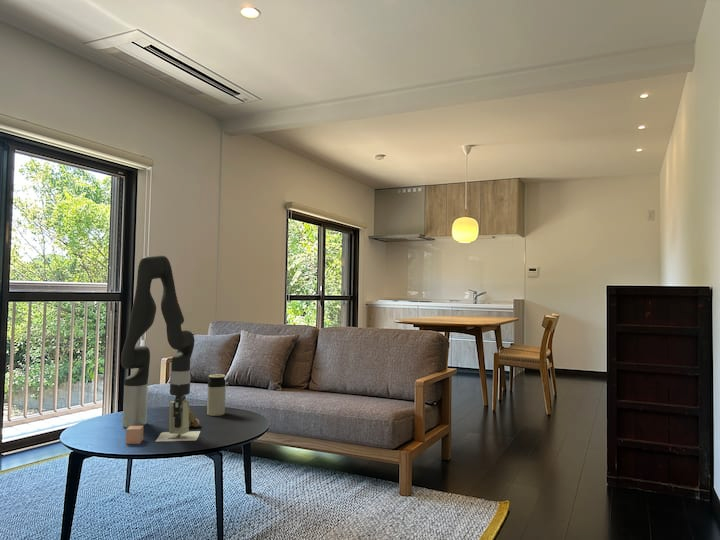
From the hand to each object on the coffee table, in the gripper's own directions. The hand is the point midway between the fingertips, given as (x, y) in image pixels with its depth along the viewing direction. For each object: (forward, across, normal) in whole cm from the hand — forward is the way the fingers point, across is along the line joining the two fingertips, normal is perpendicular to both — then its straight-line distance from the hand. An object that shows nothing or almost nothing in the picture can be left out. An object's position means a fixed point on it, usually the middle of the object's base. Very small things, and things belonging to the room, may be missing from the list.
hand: (178, 425), depth 207 cm
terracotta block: (+5, +6, -15) cm, 17 cm away
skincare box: (+3, 0, 0) cm, 3 cm away
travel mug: (+5, -38, +11) cm, 40 cm away
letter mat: (+5, 0, 0) cm, 5 cm away
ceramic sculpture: (+5, -16, 0) cm, 17 cm away
